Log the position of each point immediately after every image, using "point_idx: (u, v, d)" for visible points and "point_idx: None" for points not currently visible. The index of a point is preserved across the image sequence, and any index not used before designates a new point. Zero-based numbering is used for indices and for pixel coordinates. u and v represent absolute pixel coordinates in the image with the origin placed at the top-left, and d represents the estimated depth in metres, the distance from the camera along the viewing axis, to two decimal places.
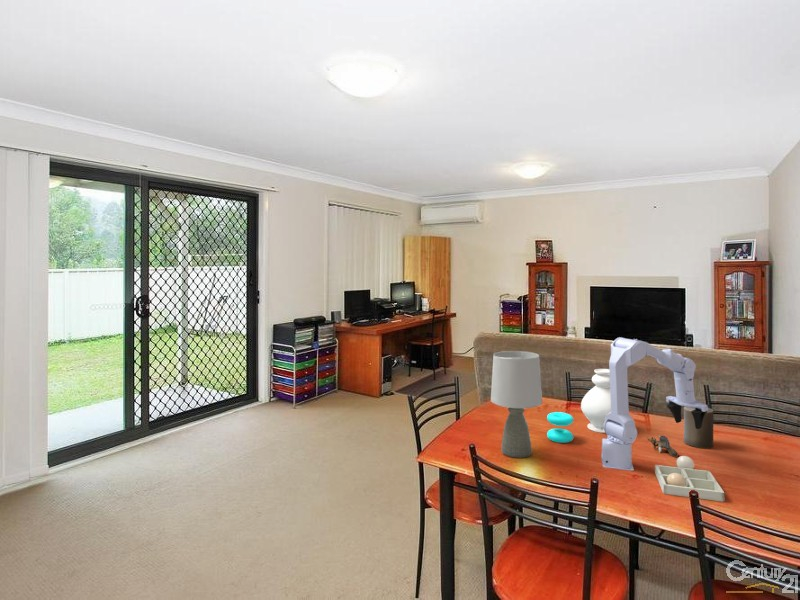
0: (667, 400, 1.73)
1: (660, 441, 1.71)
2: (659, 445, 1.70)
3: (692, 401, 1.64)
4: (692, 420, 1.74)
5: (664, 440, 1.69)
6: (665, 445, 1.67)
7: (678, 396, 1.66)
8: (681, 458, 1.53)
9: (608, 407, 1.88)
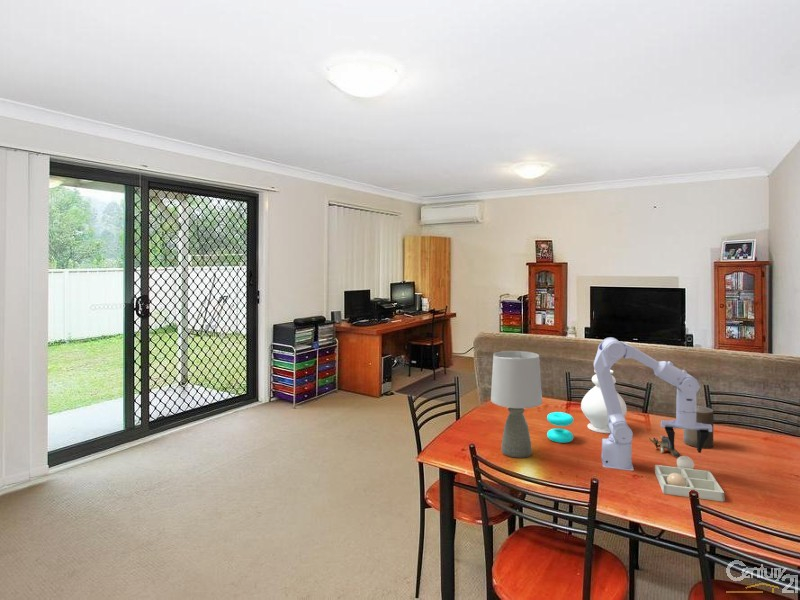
0: (663, 425, 1.54)
1: (662, 441, 1.70)
2: (661, 445, 1.70)
3: (696, 422, 1.51)
4: None
5: (666, 440, 1.69)
6: (667, 445, 1.67)
7: (685, 418, 1.50)
8: (681, 458, 1.53)
9: None
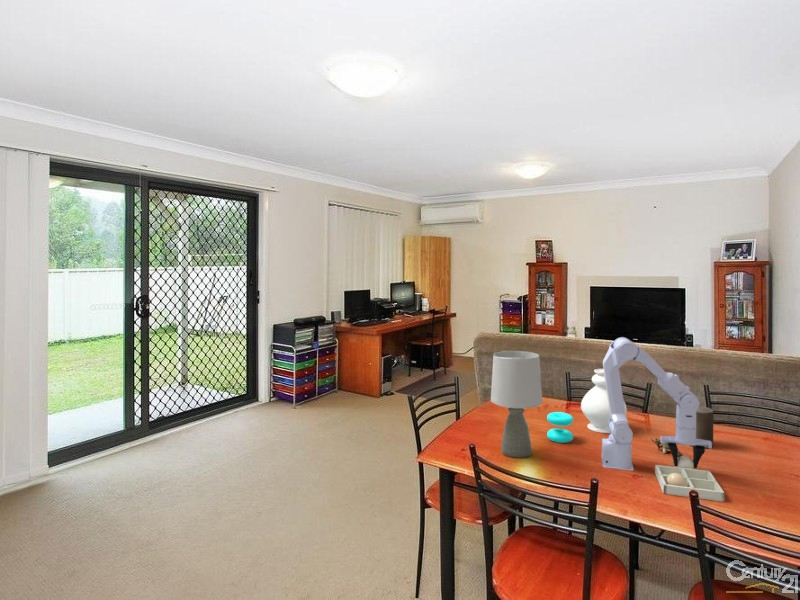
0: (663, 441, 1.55)
1: None
2: (663, 446, 1.69)
3: (695, 438, 1.52)
4: None
5: None
6: None
7: (685, 435, 1.51)
8: (681, 458, 1.53)
9: (608, 407, 1.88)
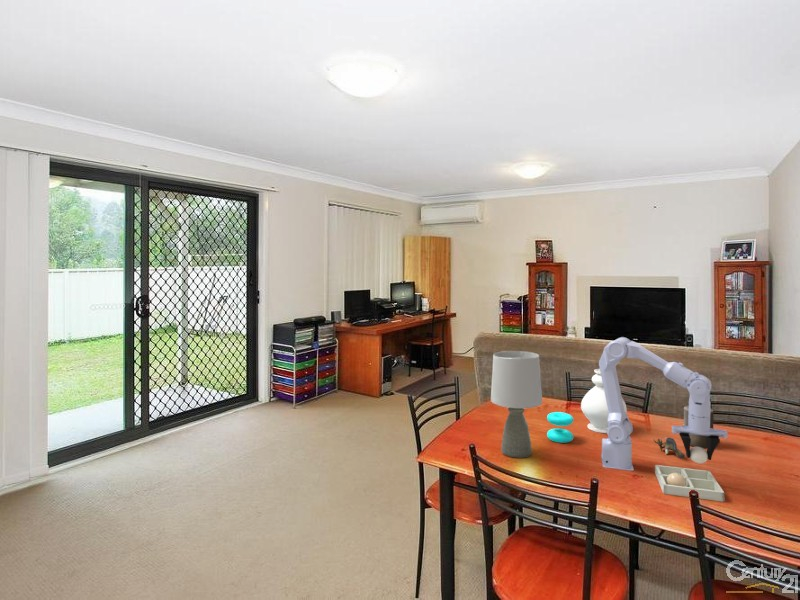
0: (675, 431, 1.45)
1: (667, 443, 1.69)
2: (666, 447, 1.68)
3: (709, 428, 1.42)
4: None
5: (671, 441, 1.68)
6: (672, 447, 1.66)
7: (699, 424, 1.41)
8: (694, 449, 1.44)
9: None
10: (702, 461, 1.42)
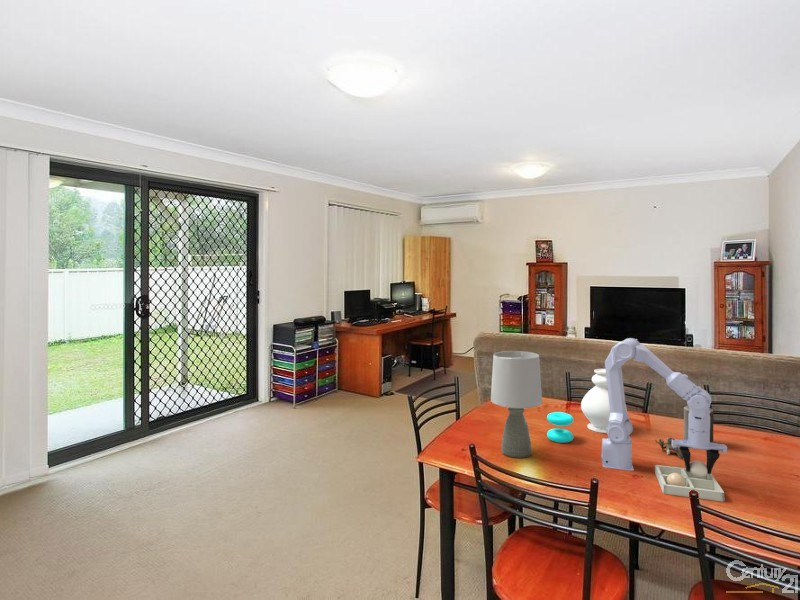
0: (674, 445, 1.45)
1: (668, 443, 1.69)
2: (667, 447, 1.68)
3: (709, 442, 1.42)
4: None
5: None
6: (673, 447, 1.65)
7: (698, 438, 1.41)
8: (694, 463, 1.44)
9: (608, 407, 1.88)
10: (702, 475, 1.42)
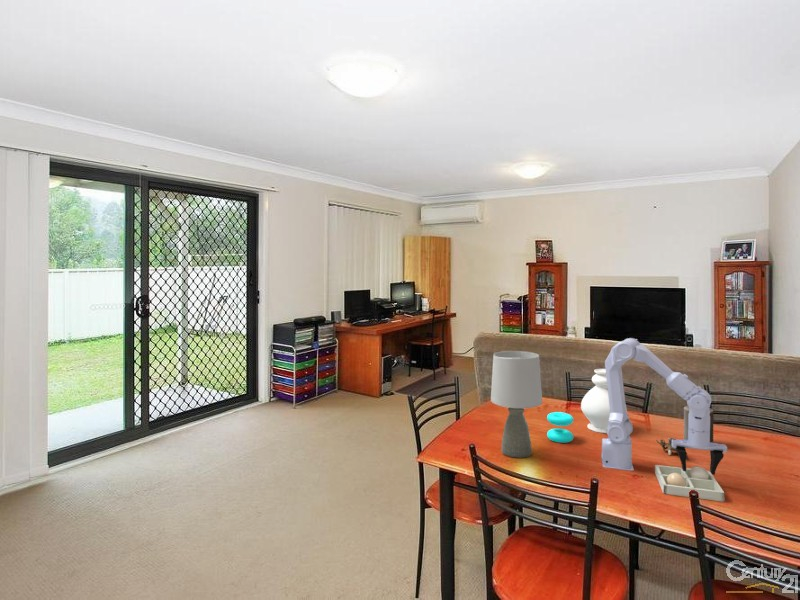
0: (674, 445, 1.45)
1: (670, 443, 1.68)
2: (669, 448, 1.68)
3: (709, 442, 1.42)
4: None
5: None
6: (675, 448, 1.65)
7: (698, 438, 1.41)
8: (696, 469, 1.44)
9: (608, 407, 1.88)
10: None
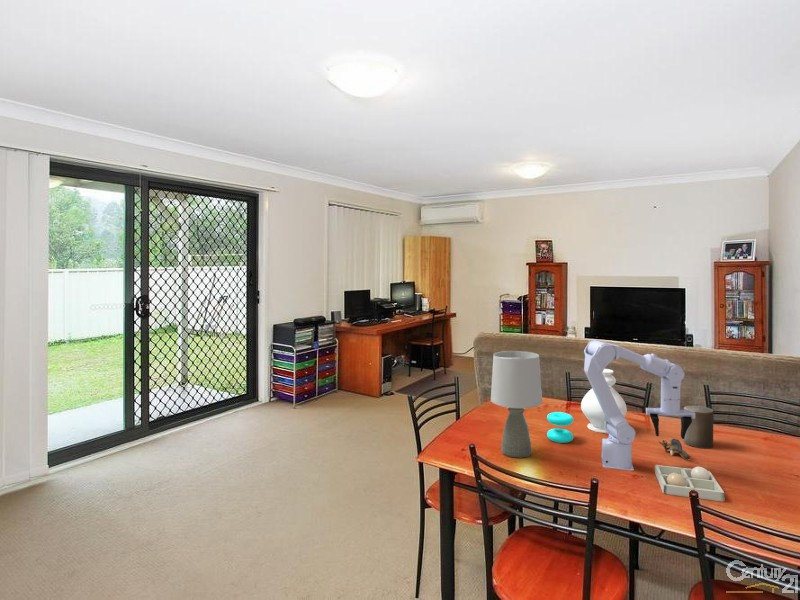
0: (648, 412, 1.59)
1: (672, 444, 1.68)
2: (671, 448, 1.67)
3: (679, 409, 1.56)
4: (692, 420, 1.74)
5: (676, 443, 1.66)
6: (677, 448, 1.64)
7: (669, 405, 1.55)
8: (698, 469, 1.43)
9: None
10: None
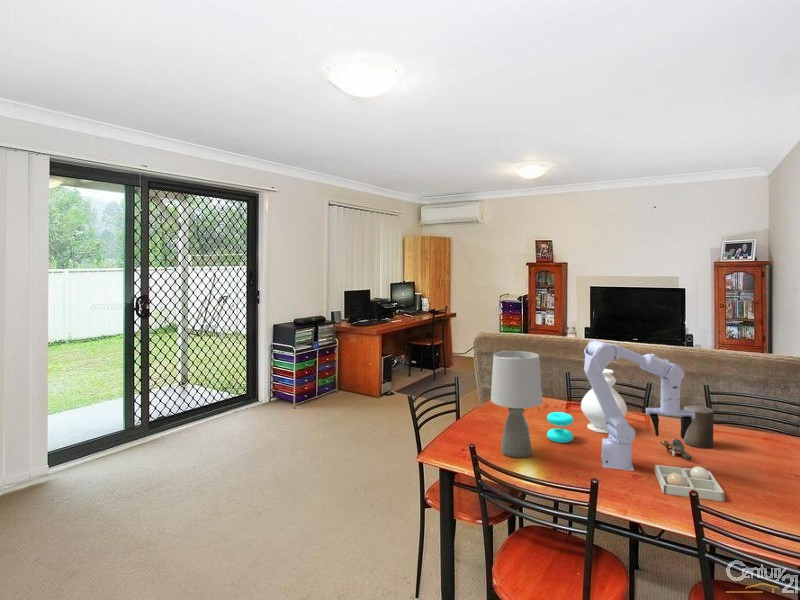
0: (648, 412, 1.59)
1: (673, 444, 1.67)
2: (673, 449, 1.67)
3: (679, 409, 1.56)
4: (692, 420, 1.74)
5: (678, 443, 1.66)
6: (679, 449, 1.64)
7: (669, 405, 1.55)
8: (696, 469, 1.44)
9: None
10: None
